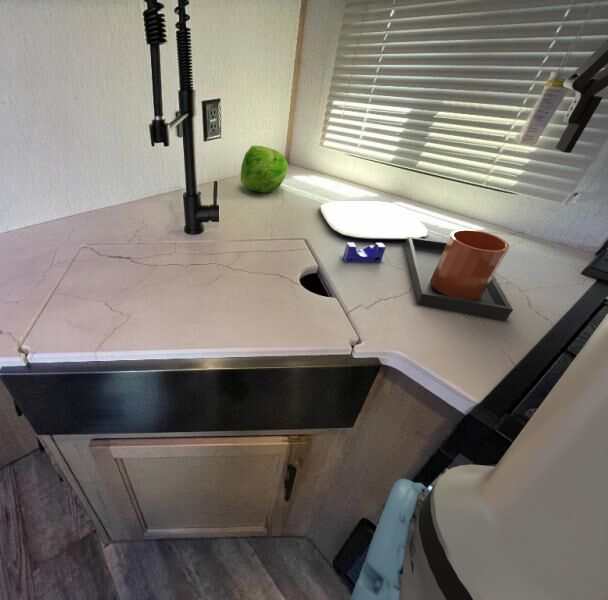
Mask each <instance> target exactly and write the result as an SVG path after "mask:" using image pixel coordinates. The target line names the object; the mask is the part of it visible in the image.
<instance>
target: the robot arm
mask: <svg viewBox="0 0 608 600" xmlns="http://www.w3.org/2000/svg"><path fill="white" fill-rule="evenodd" d="M607 65H608V39H606V40H605V41H604V43H602V44H601V45H600V47H598V48H597V49H596V50H594V52H593V53H592V54H591V55H590V56H589V57H588V58H587V59H585V60H584V62H582V63H581V64H580V66H578V67H577V68H576V69H575V70H574V71H573V72H572V73H571V74H570V75H569V76H568V77H567V78H566V79H565V80H564V81H563V83H562V84H563V87H564V88H566V89H569V90H571V91H573V92H574V93H575V95H574V96H575V97H574V98H573V101H572V102H571V103H570V105H569V107H568V109H567V110H566V113H565V115H564V116H563V123H566V124H567V126H566V127H565V130H564V131H563V133H562V134H561V137H560V138H559V140H558V142H557V144H556V146H555V147H554V148H555V150H558V151H560V152H562V153H566V154H570V153H572V151H573V149H574V147H575V146H576V144H577V143H578V141H579V139H580V138H581V136H582V134H583V132H584V131H585V130H586V127H587V126H588V123H589V122H590V121H591V119H592V117H593V115H594V113H595V112H596V110H597V109H598V107H599V105H600V104H601V102H602V100H603V98H604V97H603V96H600V95H599V96H598V95H596V94H598V93H600V92H601V91H602V90H604V89H606V88H607V87H608V66H607ZM605 66H607V67H605ZM604 67H605V68H604ZM349 600H608V313H607V314H605V316H604V318H603V319H602V321H601V322H600V323H599V324H598V326H597V327H596V329H595V330H594V331H593V332H592V333H591V335H590V337H589V338H588V340H587V341H586V342H585V343H584V345H583V346H582V348H581V349H580V351H579V352H578V353H577V355H576V356H575V357H574V359H572V362H571V363H570V364H569V366H568V367H567V368H566V370H565V371H564V373H563V374H562V375H561V376H560V378H559V379H558V381H557V382H556V383H555V385H554V386H553V387H552V388H551V390H550V391H549V392H548V394H547V396H546V397H545V398H544V400H543V401H542V402H541V404H539V406H538V407H537V409H536V411H535V412H534V413H533V414H532V415H531V417H530V419H528V421H527V423H526V424H525V425H524V427H523V428H522V429H521V431H520V432H519V434H518V435H517V436H516V438H515V439H514V440H513V442H512V443H511V445H510V446H509V447H508V449H507V450H506V451H505V453H504V454H503V456H501V458H500V459H499V461H498V462H497V464H496V465H495V466H494V465H480V464H463V465H457V466H454V467H451V468H450V469H448V470H446V471H445V472H444V473H443V474H441V475H440V476H439V477H438V478H437V480H436V481H435V483H434V484H433V486H432V488H431V489H429V488H427V487H426V486H425V485H424V484H423V483H422V482H414V481H412V480H410V479H408V478H399V479H397V480H395V482H394V484H393V485H392V487H391V489H390V492H389V495H388V498H387V500H386V502H385V505H384V507H383V510H382V512H381V515H380V518H379V520H378V523H377V526H376V528H375V531H374V533H373V536H372V538H371V541H370V545H369V547H368V551H367V554H366V557H365V561H364V562H363V564H362V567H361V570H360V573H359V576H358V578H357V580H356V583H355V586H354V589H353V591H352V593H351V596H350V599H349Z"/></svg>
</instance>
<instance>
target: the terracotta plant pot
mask: <svg viewBox="0 0 608 600" xmlns="http://www.w3.org/2000/svg"><path fill="white" fill-rule="evenodd" d="M446 242H447V243H446V246H445V248H444V250H443V252H442V255H441V257H440V259H439V261H438V263H437V266H436V268H435V270H434V272H433V274H432V277H431V279H430V283H431V285H432V286H433V287H434V289H435V290H436V291H438V292H439V293H440V294H442V295H444V296H449V297H455V298H461V299H467V300H474V299H478V298H479V297H481V296H482V294H483V293H484V291H485V289H486V287H487V286H488V284H489V282H490V281H491V279H492V277H493V276H494V275H495V274H496V272H497V270H498V268H499V267H500V265H501V263H502V261H503V259H504V258H505V257H506V255H507V253H508V251H509V250H510V244H509V243H508V242H507V241H506V240H505V239H504V238H501V237H499V236H498V235H495V234H491V233H489V232H486V231H481V230H476V229H469V228H467V229H465V228H463V229H456V230H453V231H451V233H450V234H449V237H448V239H447V241H446Z"/></svg>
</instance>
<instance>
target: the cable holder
mask: <svg viewBox="0 0 608 600" xmlns="http://www.w3.org/2000/svg"><path fill="white" fill-rule="evenodd" d="M385 250H386V246H385V244H384V243H383V242H375V244H374V245H368V246H367V247H364V248H359V250H358V251H357V246H356V244H355V242H346V245H345V250H344V253H343V256H342V259H343V260H344V262H345V263H378V264H379V263H382V259H383V257H384V254H385Z"/></svg>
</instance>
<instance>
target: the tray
mask: <svg viewBox="0 0 608 600" xmlns="http://www.w3.org/2000/svg"><path fill="white" fill-rule="evenodd" d="M446 243H447V241H443V240H436V239H435V240H434V239H429V238H414V237H408V238H407V239H406V241H405V244H404V250H405V255H406V259H407V263H408V264H407V265H408V269H409V273H410V274H409V275H410V278H411V282H412V287H413V292H414V297H415V300H416V305H417V306H421V307H427V308H432V309H433V308H434V309H439V310H443V311H444V310H445V311H450V312H455V313H461V314H466V315H471V316H477V317H482V318H488V319H494V320H499V321H504V322H505V321H507V320H508V318H509V317H510V315H511V314H512V312H513V311H514V309H513V307H512V305H511V304H510V301H509V300H508V297H507V296H506V294H505V293H504V291H503V290H502V288H501V286H500V284H499V283H498V281H497V279H496V277H495V276H494V275H493V277H492V279H491V281H490V282H489V284H488V286H487V287H486V289H485V291H484V293H483V294H482V296H481V297H479V298H478V299H474V300H467V299H461V298H455V297H449V296H444V295H442V294H440V293H439V292H438V291H436V290H435V289H434V287H433V286H432V285H431V283H430V279H431V277H432V274H433V272H434V270H435V268H436V266H437V263H438V261H439V259H440V257H441V255H442V252H443V250H444V248H445V246H446Z"/></svg>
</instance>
